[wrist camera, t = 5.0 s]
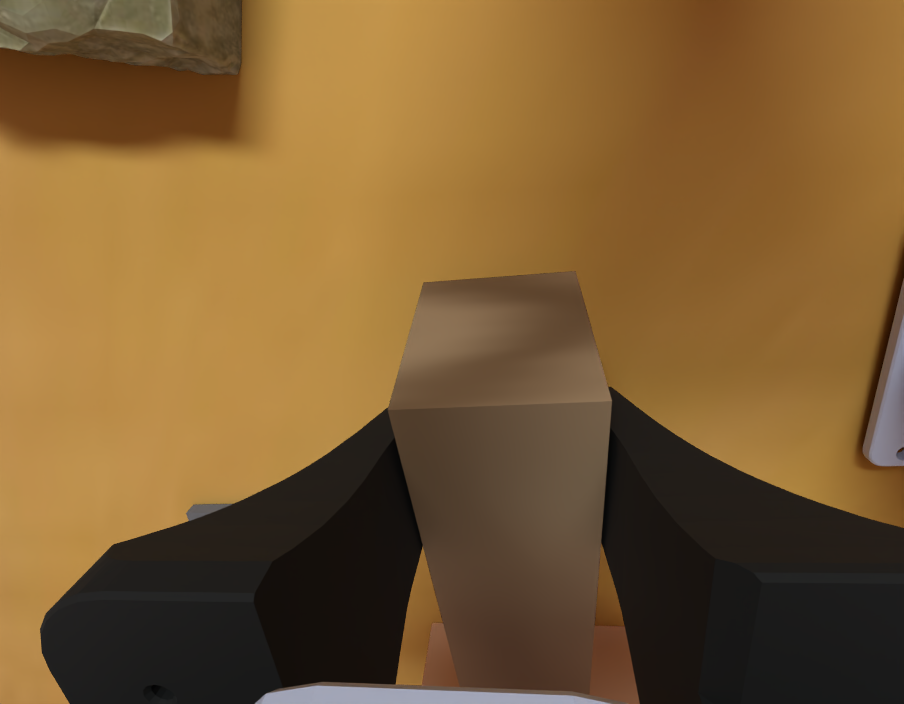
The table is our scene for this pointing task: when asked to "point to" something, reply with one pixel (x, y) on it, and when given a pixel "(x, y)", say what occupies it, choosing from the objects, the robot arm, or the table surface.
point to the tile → (607, 671)
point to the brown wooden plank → (508, 473)
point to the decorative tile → (129, 31)
